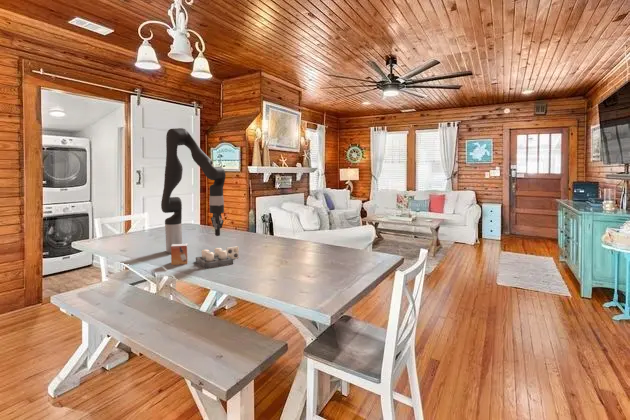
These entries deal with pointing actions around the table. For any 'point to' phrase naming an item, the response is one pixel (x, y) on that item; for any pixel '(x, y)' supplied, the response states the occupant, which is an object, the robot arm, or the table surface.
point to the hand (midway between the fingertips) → (217, 235)
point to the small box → (179, 254)
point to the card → (233, 252)
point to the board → (215, 263)
